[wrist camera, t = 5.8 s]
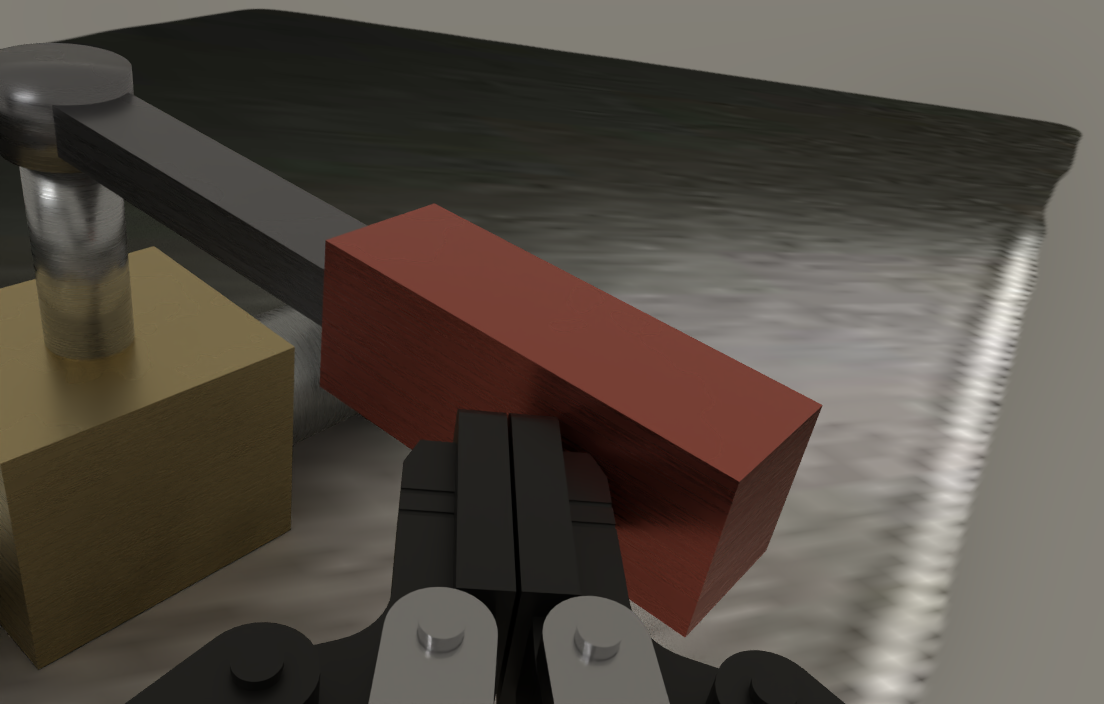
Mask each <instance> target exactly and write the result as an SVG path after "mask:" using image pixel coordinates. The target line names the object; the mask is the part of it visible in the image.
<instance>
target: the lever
mask: <svg viewBox="0 0 1104 704" xmlns="http://www.w3.org/2000/svg"><path fill="white" fill-rule="evenodd" d="M0 155H1V156H2V157H3V158H4V159H5V160H7V161H8V162H10V163H12V164H15V165H17V166H20V167H23V168H27V169H31V170H36V171H42V172H50V173H84V174H86V175H87V176H89V177H90V178H92V179H93V180H95V181H97V182H98V183H100V184H101V185H103V186H104V187H106V188H107V189H109V190H110V191H112V192H114V193H115V194H117V195H118V196H120V197H121V198H123V199H124V200H126V201H128V202H129V203H131V204H132V205H134V206H135V207H137V208H138V209H140V210H141V211H143V212H145V213H146V214H148V215H149V216H151V217H152V218H154V219H155V220H157V221H159V222H160V223H162V224H163V225H165V226H166V227H168V228H169V229H171V230H172V231H174V232H176V233H177V234H179V235H180V236H182V237H183V238H185V239H186V240H188V241H189V242H191V243H193V244H194V245H196V246H197V247H199V248H200V249H202V250H203V251H205V252H207V253H208V254H210V255H211V256H213V257H214V258H216V259H217V260H219V261H220V262H222V263H224V264H225V265H227V266H228V267H230V268H231V269H233V270H234V271H236V272H238V273H239V274H241V275H242V276H244V277H245V278H247V279H248V280H250V281H251V282H253V283H255V284H256V285H258V286H259V287H261V288H262V289H264V290H265V291H267V292H268V293H270V294H272V295H273V296H275V297H276V298H278V299H279V300H281V301H282V302H284V303H286V304H287V305H289V306H290V307H292V308H293V309H295V310H296V311H298V312H299V313H301V314H303V315H304V316H306V317H307V318H309V319H310V320H312V321H313V322H315V323H317V324H318V325H320V326H321V327H322V339H321V363H320V387H322V388H323V389H325V390H326V391H327V392H329V393H330V394H332V395H333V396H335V397H336V398H338V399H339V400H341V401H342V402H343V403H345V404H346V405H348V406H349V407H351V408H352V409H354V410H355V411H357V412H358V413H359V414H361V415H362V416H364V417H365V418H367V419H368V420H370V421H371V422H373V423H374V424H375V425H377V426H378V427H380V428H381V429H383V430H384V431H386V432H387V433H389V434H390V435H391V436H393V437H394V438H396V439H397V440H399V441H400V442H402V443H403V444H405V445H406V446H407V447H409V448H410V449H412V450H413V448H414V447H415V446H416V444H417V443H418V442H419V440H430V441H442V442H453V437H454V430H455V422H456V415H457V410H458V409H468V410H480V411H491V412H503V413H506V414H507V418H508V415H509V413H516V414H528V415H539V416H551V417H557V418H558V420H559V426H560V434H561V442H562V450H563V451H567V452H579V453H590V455H591V456H592V457H593V459H594V460H595V461H596V463H597V464H598V465H599V467H600V468H601V469H602V471H603V472H604V473H605V475H606V476H607V479H608V484H609V490H610V495H611V501H612V506H611V507H612V508H613V512H614V518H615V523H616V525H615V529H617V534H618V540H619V545H620V551H621V557H622V562H623V568H624V573H625V579H626V584H627V590H628V596H629V599H630V600H631V601H633V602H634V603H636V604H637V605H639V606H640V607H642V608H643V609H644V610H646V611H647V612H649V613H650V614H652V615H653V616H655V617H656V618H658V619H659V620H660V621H662V622H663V623H665V624H666V625H668V626H669V627H671V628H672V629H674V630H675V631H676V632H678V633H679V634H681V635H682V636H684V637H686V636H687V635H688V634H689V633H690V632H691V631H692V630H693V628H694V627H695V626H696V625H697V624H698V623H699V622H700V621H701V620H702V619H703V618H704V617H705V616H706V615H707V613H708V612H709V611H710V610H711V609H712V608H713V607H714V606H715V605H716V604H717V603H718V602H719V601H720V600H721V598H722V597H723V596H724V595H725V594H726V593H727V592H728V591H729V590H730V589H731V588H732V587H733V586H734V585H735V583H736V582H737V581H738V580H739V579H740V578H741V577H742V576H743V575H744V574H745V573H746V572H747V571H748V569H749V568H750V567H751V566H752V565H753V564H754V563H755V562H756V561H757V560H758V559H759V558H760V557H761V556H762V554H763V553H764V552H765V551H766V550H767V547H768V544H769V542H770V539H771V537H772V534H773V532H774V529H775V526H776V524H777V521H778V519H779V516H780V514H781V511H782V508H783V506H784V503H785V501H786V498H787V496H788V493H789V490H790V488H791V485H792V483H793V480H794V477H795V475H796V472H797V470H798V467H799V465H800V462H801V459H802V457H803V454H804V452H805V449H806V447H807V444H808V441H809V439H810V436H811V434H812V431H813V428H814V426H815V423H816V421H817V418H818V416H819V413H820V410H821V408H822V405H821V404H819V403H817V402H815V401H813V400H812V399H810V398H808V397H806V396H804V395H802V394H800V393H798V392H796V391H794V390H792V389H790V388H788V387H787V386H785V385H783V384H781V383H779V382H777V381H775V380H773V379H771V378H769V377H767V376H765V375H763V374H762V373H760V372H758V371H756V370H754V369H752V368H750V367H748V366H746V365H744V364H742V363H740V362H738V361H736V360H735V359H733V358H731V357H729V356H727V355H725V354H723V353H721V352H719V351H717V350H715V349H713V348H711V347H710V346H708V345H706V344H704V343H702V342H700V341H698V340H696V339H694V338H692V337H690V336H688V335H686V334H685V333H683V332H681V331H679V330H677V329H675V328H673V327H671V326H669V325H667V324H665V323H663V322H661V321H659V320H658V319H656V318H654V317H652V316H650V315H648V314H646V313H644V312H642V311H640V310H638V309H636V308H634V307H633V306H631V305H629V304H627V303H625V302H623V301H621V300H619V299H617V298H615V297H613V296H611V295H609V294H608V293H606V292H604V291H602V290H600V289H598V288H596V287H594V286H592V285H590V284H588V283H586V282H584V281H582V280H581V279H579V278H577V277H575V276H573V275H571V274H569V273H567V272H565V271H563V270H561V269H559V268H557V267H556V266H554V265H552V264H550V263H548V262H546V261H544V260H542V259H540V258H538V257H536V256H534V255H532V254H531V253H529V252H527V251H525V250H523V249H521V248H519V247H517V246H515V245H513V244H511V243H509V242H507V241H505V240H504V239H502V238H500V237H498V236H496V235H494V234H492V233H490V232H488V231H486V230H484V229H482V228H480V227H479V226H477V225H475V224H473V223H471V222H469V221H467V220H465V219H463V218H461V217H459V216H457V215H455V214H453V213H452V212H450V211H448V210H446V209H444V208H442V207H440V206H438V205H436V204H432V205H429V206H426V207H423V208H420V209H417V210H414V211H411V212H408V213H405V214H402V215H399V216H396V217H393V218H390V219H387V220H384V221H381V222H378V223H375V224H372V225H369V226H367V225H365V224H363V223H362V222H360V221H358V220H356V219H354V218H353V217H351V216H349V215H347V214H345V213H344V212H342V211H340V210H338V209H336V208H335V207H333V206H331V205H329V204H328V203H326V202H324V201H322V200H320V199H319V198H317V197H315V196H313V195H311V194H310V193H308V192H306V191H304V190H302V189H301V188H299V187H297V186H295V185H293V184H292V183H290V182H288V181H286V180H284V179H283V178H281V177H279V176H277V175H276V174H274V173H272V172H270V171H268V170H267V169H265V168H263V167H261V166H259V165H258V164H256V163H254V162H252V161H250V160H249V159H247V158H245V157H243V156H241V155H240V154H238V153H236V152H234V151H232V150H231V149H229V148H227V147H225V146H224V145H222V144H220V143H218V142H216V141H215V140H213V139H211V138H209V137H207V136H206V135H204V134H202V133H200V132H198V131H197V130H195V129H193V128H191V127H189V126H188V125H186V124H184V123H182V122H180V121H179V120H177V119H175V118H173V117H172V116H170V115H168V114H166V113H164V112H163V111H161V110H159V109H157V108H155V107H154V106H152V105H150V104H148V103H146V102H145V101H143V100H141V99H139V98H137V97H136V96H134V94H133V80H132V67H131V64H130V63H129V61H128V60H126V59H125V58H124V57H122V56H120V55H118V54H116V53H113V52H110V51H107V50H104V49H100V48H96V47H90V46H84V45H76V44H64V43H36V44H26V45H18V46H12V47H8V48H4V49H1V50H0Z"/></svg>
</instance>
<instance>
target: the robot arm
mask: <svg viewBox="0 0 1104 704" xmlns="http://www.w3.org/2000/svg"><path fill="white" fill-rule="evenodd" d="M611 506H612V501H611V495H610V490H609V484H608V479H607V476H606V475H605V473H604V472H603V471H602V469H601V468H600V467H599V465H598V464H597V463H596V461H595V460H594V459H593V457H592V456H591V455H590V453H579V452H567V451H563V450H562V442H561V434H560V426H559V420H558V418H557V417H551V416H539V415H528V414H516V413H509V415H508V418H507V414H506V413H503V412H491V411H480V410H468V409H458V410H457V415H456V422H455V430H454V437H453V442H442V441H430V440H419V442H418V443H417V444H416V446H415V447H414V448H413V450H412V451H411V452H410V454H409V455H408V456H407V458H406V459H405V460H404V462H403V472H402V482H401V492H400V502H399V512H398V522H397V532H396V542H395V553H394V565H393V576H392V587H391V598H390V601H389V603H388V606H387V608H386V609H385V611H384V612H383V614H382V615H381V616H380V617H379V618H378V619H377V620H376V621H375V622H374V623H373V624H371V625H370V626H369V627H367V628H366V629H364V630H362V631H361V632H359V633H356V634H354V635H352V636H349V637H346V638H342V639H339V640H334V641H330V642H326V643H321V644H317V645H313V644H312V642H311V641H310V640H309V639H308V638H307V637H306V636H305V635H303V634H302V633H300V632H299V631H297V630H295V629H293V628H291V627H288V626H286V625H281V624H277V623H268V622H261V623H251V624H245V625H241V626H238V627H235V628H232V629H230V630H228V631H226V632H224V633H222V634H220V635H219V636H217V637H216V638H214V639H213V640H212V641H210V642H209V643H207V644H206V645H205V646H203V647H202V648H201V649H199V650H198V651H196V652H195V653H194V654H192V655H191V656H190V657H188V658H187V659H186V660H184V661H183V662H181V663H180V664H179V665H177V666H176V667H175V668H173V669H172V670H170V671H169V672H168V673H166V674H165V675H164V676H162V677H161V678H160V679H158V680H157V681H155V682H154V683H153V684H151V685H150V686H149V687H147V688H146V689H144V690H143V691H142V692H140V693H139V694H138V695H136V696H135V697H133V698H132V699H131V700H129V701H128V702H127V703H125V704H494V701H495V696H496V704H845V703H844V702H842V701H841V700H840V699H839V698H838V697H837V696H835V695H834V694H833V693H832V692H831V691H829V690H828V689H827V688H826V687H825V686H823V685H822V684H821V683H820V682H819V681H817V680H816V679H815V678H814V677H813V676H811V675H810V674H809V673H808V672H807V671H805V670H804V669H803V668H801V667H800V666H799V665H797V664H796V663H794V662H792V661H791V660H789V659H787V658H785V657H783V656H780V655H778V654H774V653H771V652H766V651H760V650H749V651H743V652H739V653H736V654H734V655H732V656H730V657H729V658H727V659H726V660H725V661H724V662H723V663H722V664H721V666H720V668H716V667H713V666H710V665H707V664H704V663H701V662H698V661H695V660H692V659H689V658H686V657H683V656H680V655H678V654H675V653H673V652H671V651H669V650H667V649H665V648H664V647H662V646H661V645H659V644H658V643H656V642H655V641H654V640H653V639H652V638H651V637H650V634H649V632H648V629H647V628H646V626H645V625H644V623H643V622H642V621H641V619H640V618H639V617H638V616H637V615H636V614H635V613H633V612H632V609H631V606H630V601H629V596H628V590H627V584H626V579H625V573H624V568H623V562H622V557H621V551H620V545H619V540H618V534H617V529H615V525H616V523H615V518H614V512H613V508H612V507H611Z"/></svg>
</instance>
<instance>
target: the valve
mask: <svg viewBox="0 0 1104 704" xmlns="http://www.w3.org/2000/svg"><path fill="white" fill-rule="evenodd" d="M20 173H21V181H22V188H23V195H24V202H25V209H26V216H27V223H28V230H29V237H30V244H31V251H32V258H33V265H34V272H35V279H34V280H30V281H27V282H23V283H19V284H16V285H12V286H8V287H5V288H1V289H0V624H1V625H2V627H3V628H4V629H5V630H6V631H7V633H8V634H9V635H10V636H11V637H12V639H13V640H14V641H15V642H16V643H17V645H18V646H19V647H20V648H21V649H22V650H23V652H24V653H25V654H26V655H27V656H28V658H29V659H30V660H31V661H32V662H33V664H34V665H35V666H36V667H37V668H38V670H39V669H40V668H42V667H44V666H46V665H48V664H49V663H51V662H53V661H55V660H57V659H58V658H60V657H62V656H64V655H66V654H67V653H69V652H71V651H73V650H75V649H76V648H78V647H80V646H82V645H84V644H85V643H87V642H89V641H91V640H93V639H94V638H96V637H98V636H100V635H102V634H103V633H105V632H107V631H109V630H111V629H113V628H114V627H116V626H118V625H120V624H122V623H123V622H125V621H127V620H129V619H131V618H132V617H134V616H136V615H138V614H140V613H141V612H143V611H145V610H147V609H149V608H150V607H152V606H154V605H156V604H158V603H159V602H161V601H163V600H165V599H167V598H168V597H170V596H172V595H174V594H176V593H177V592H179V591H181V590H183V589H185V588H186V587H188V586H190V585H192V584H194V583H195V582H197V581H199V580H201V579H203V578H204V577H206V576H208V575H210V574H212V573H213V572H215V571H217V570H219V569H221V568H222V567H224V566H226V565H228V564H230V563H231V562H233V561H235V560H237V559H239V558H240V557H242V556H244V555H246V554H248V553H249V552H251V551H253V550H255V549H257V548H258V547H260V546H262V545H264V544H266V543H267V542H269V541H271V540H273V539H275V538H276V537H278V536H280V535H282V534H284V533H285V532H287V531H289V530H291V488H292V445H293V444H295V443H297V442H299V441H302V440H304V439H306V438H308V437H310V436H312V435H314V434H316V433H318V432H320V431H322V430H324V429H326V428H328V427H331V426H333V425H335V424H337V423H339V422H341V421H343V420H345V419H347V418H349V417H351V416H353V415H355V414H358V412H357V411H355V410H354V409H352V408H351V407H349V406H348V405H346V404H345V403H343V402H342V401H341V400H339V399H338V398H336V397H335V396H333V395H332V394H330V393H329V392H327V391H326V390H325V389H323V388H322V387H320V363H321V339H322V327H321V326H320V325H318V324H317V323H315V322H313V321H312V320H310V319H309V318H307V317H306V316H304V315H303V314H301V313H299V312H298V311H296V310H295V309H293V308H292V307H290V306H289V305H285V306H282V307H280V308H277V309H274V310H271V311H268V312H266V313H263V314H260V315H257V316H254V317H252V316H251V315H249V314H248V313H247V312H245V311H244V310H242V309H241V308H240V307H238V306H237V305H235V304H234V303H233V302H231V301H230V300H228V299H227V298H226V297H224V296H223V295H221V294H220V293H219V292H217V291H216V290H214V289H213V288H212V287H210V286H209V285H207V284H206V283H205V282H203V281H202V280H200V279H199V278H198V277H196V276H195V275H193V274H192V273H191V272H189V271H188V270H186V269H185V268H184V267H182V266H181V265H179V264H178V263H177V262H175V261H174V260H172V259H171V258H170V257H168V256H167V255H165V254H164V253H163V252H161V251H160V250H158V249H157V248H156V247H150V248H146V249H143V250H139V251H135V252H132V253H128V246H127V233H126V221H125V209H124V199H123V198H121V197H120V196H118V195H117V194H115V193H114V192H112V191H110V190H109V189H107V188H106V187H104V186H103V185H101V184H100V183H98V182H97V181H95V180H93V179H92V178H90V177H89V176H87V175H86V174H84V173H50V172H42V171H36V170H31V169H27V168H23V167H20Z"/></svg>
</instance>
